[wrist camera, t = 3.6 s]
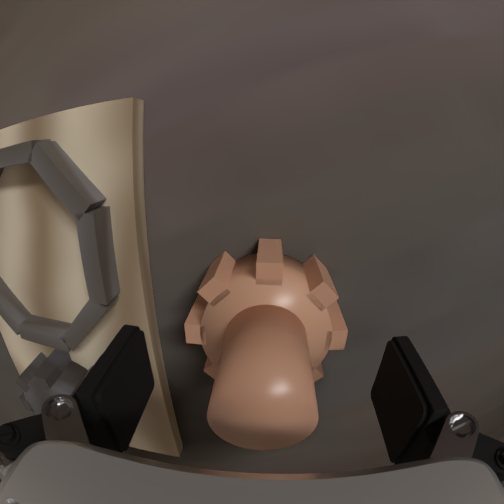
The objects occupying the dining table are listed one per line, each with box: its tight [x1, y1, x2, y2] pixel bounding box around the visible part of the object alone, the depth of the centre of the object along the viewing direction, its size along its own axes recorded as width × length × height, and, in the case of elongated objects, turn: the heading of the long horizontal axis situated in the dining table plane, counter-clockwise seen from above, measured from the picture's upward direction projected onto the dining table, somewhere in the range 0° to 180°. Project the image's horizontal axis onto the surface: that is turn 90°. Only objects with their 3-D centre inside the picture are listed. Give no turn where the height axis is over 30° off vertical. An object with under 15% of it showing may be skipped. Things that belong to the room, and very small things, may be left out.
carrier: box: [0, 97, 183, 457], centre depth 14 cm, size 14×24×6 cm, turn 179°
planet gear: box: [184, 239, 348, 450], centre depth 12 cm, size 7×7×8 cm
